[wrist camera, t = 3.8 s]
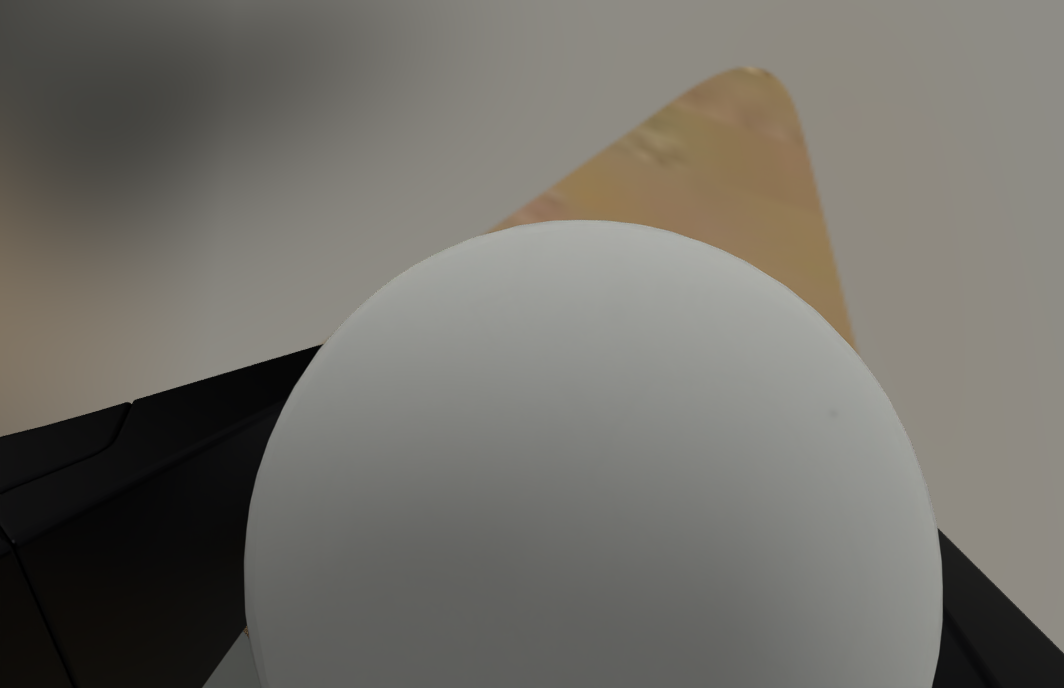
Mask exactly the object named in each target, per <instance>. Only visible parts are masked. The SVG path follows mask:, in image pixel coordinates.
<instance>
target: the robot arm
mask: <svg viewBox="0 0 1064 688" xmlns="http://www.w3.org/2000/svg"><path fill="white" fill-rule="evenodd" d="M323 345H324V344H322V345H318V346H315V347H311V348H308V349H305V350H301V351H298V352H295V353H292V354H288V355H284V356H281V357H278V358H274V359H271V360H268V361H264V362H261V363H257V364H254V365H251V366H247V367H244V368H241V369H237V370H234V371H231V372H227V373H224V374H220V375H217V376H214V377H210V378H207V379H204V380H200V381H197V382H193V383H190V384H187V385H183V386H180V387H177V388H173V389H170V390H166V391H163V392H160V393H156V394H153V395H150V396H146V397H143V398H139V399H136V400H134V401H133V403H132V404H131V403H129V402H125V403H122V404H119V405H116V406H112V407H109V408H106V409H102V410H99V411H96V412H92V413H89V414H85V415H81V416H78V417H74V418H71V419H67V420H64V421H60V422H57V423H53V424H49V425H46V426H42V427H38V428H34V429H30V430H26V431H22V432H18V433H14V434H10V435H6V436H2V437H0V688H203V686H204V685H205V683H206V682H207V681H208V679H209V678H210V676H211V675H212V674H213V672H214V671H215V669H216V668H217V667H218V665H219V664H220V662H221V661H222V660H223V658H224V657H225V655H226V654H227V653H228V651H229V650H230V649H231V647H232V646H233V644H234V643H235V642H236V640H237V639H238V637H239V636H240V635H241V633H242V632H243V630H244V629H245V628H246V626H247V620H246V614H245V588H244V555H245V543H246V531H247V523H248V515H249V508H250V502H251V498H252V493H253V489H254V485H255V481H256V476H257V473H258V470H259V467H260V464H261V461H262V458H263V455H264V452H265V449H266V446H267V443H268V440H269V438H270V436H271V434H272V432H273V429H274V427H275V425H276V423H277V420H278V418H279V416H280V414H281V412H282V409H283V407H284V406H285V404H286V402H287V400H288V398H289V396H290V394H291V392H292V390H293V388H294V387H295V385H296V384H297V382H298V381H299V379H300V378H301V376H302V375H303V373H304V372H305V370H306V369H307V367H308V365H309V364H310V362H311V361H312V359H313V358H314V356H315V355H316V353H317V352H318V350H319V349H320V348H321V347H322V346H323ZM937 529H938V528H937ZM938 537H939V545H940V553H941V561H942V583H943V622H942V631H941V640H940V650H939V657H938V661H937V666H936V670H935V675H934V679H933V684H932V688H1064V653H1063V652H1062V651H1061V650H1060V649H1059V648H1058V647H1057V646H1056V645H1055V644H1054V643H1053V642H1052V641H1051V640H1050V639H1049V638H1048V637H1047V636H1046V635H1045V634H1044V633H1043V632H1042V631H1041V630H1040V629H1039V628H1038V627H1037V626H1036V625H1035V624H1034V623H1032V621H1031V620H1030V619H1029V618H1028V617H1027V616H1026V615H1025V614H1024V613H1022V611H1021V610H1020V609H1019V608H1018V607H1017V606H1016V605H1015V604H1014V603H1013V602H1012V601H1011V600H1010V599H1008V597H1007V596H1006V595H1005V594H1004V593H1003V592H1002V591H1001V590H1000V589H999V588H998V587H996V586H995V584H994V583H992V582H991V580H989V579H988V578H987V577H986V575H985V574H983V573H982V572H981V570H980V569H978V568H977V567H976V566H975V565H974V564H973V563H972V562H971V561H970V560H969V559H968V558H967V557H966V556H965V555H964V554H963V553H962V552H961V551H960V550H959V549H958V548H957V547H956V546H955V545H954V544H953V543H952V542H951V541H950V540H949V539H948V538H947V537H946V536H945V535H944V534H943V533H942V532H941V531H940V530H939V529H938Z"/></svg>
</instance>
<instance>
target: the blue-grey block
mask: <svg viewBox="0 0 1064 688" xmlns="http://www.w3.org/2000/svg"><path fill="white" fill-rule="evenodd" d="M203 688H261V686H260V682H259V679H258V675H257V672H256V668H255V665H254V661H253V657H252V654H251V647H250V641H249V638H248V637H247V635H246V634H245V633H244V631H243V632H242V633H241V635H240V636H239V637H238V639H237V640H236V642H235V643H234V644H233V646H232V647H231V649H230V650H229V651H228V653H227V654H226V655H225V657H224V658H223V660H222V661H221V662H220V664H219V665H218V667H217V668H216V669H215V671H214V672H213V674H212V675H211V676H210V678H209V679H208V681H207V682H206V683H205V685H204V686H203Z"/></svg>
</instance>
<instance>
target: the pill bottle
mask: <svg viewBox="0 0 1064 688" xmlns="http://www.w3.org/2000/svg"><path fill="white" fill-rule="evenodd" d="M244 588H245V614H246V620H247V627H248V634H249V641H250V647H251V654H252V657H253V661H254V665H255V668H256V672H257V675H258V679H259V682H260V686H261V688H932V684H933V679H934V675H935V670H936V666H937V661H938V657H939V650H940V640H941V631H942V622H943V583H942V561H941V553H940V545H939V537H938V529H937V523H936V519H935V515H934V511H933V506H932V503H931V498H930V494H929V490H928V486H927V484H926V481H925V478H924V476H923V473H922V470H921V467H920V465H919V462H918V459H917V457H916V454H915V451H914V448H913V446H912V443H911V441H910V439H909V437H908V435H907V433H906V431H905V429H904V427H903V425H902V423H901V421H900V420H899V418H898V416H897V414H896V412H895V410H894V408H893V406H892V404H891V402H890V400H889V398H888V397H887V395H886V394H885V392H884V390H883V389H882V387H881V386H880V384H879V382H878V381H877V379H876V378H875V377H874V375H873V374H872V373H871V371H870V370H869V369H868V367H867V366H866V365H865V363H864V362H863V361H862V359H861V358H860V357H859V355H858V354H857V353H856V352H855V351H854V349H853V348H852V347H851V346H850V345H849V344H848V343H847V342H846V341H845V340H844V339H843V338H842V337H841V336H840V335H839V334H838V332H837V331H836V330H835V329H834V328H833V327H832V326H831V325H830V324H829V323H828V322H827V321H826V320H825V319H824V318H823V317H822V316H821V315H820V314H819V313H818V312H817V311H816V310H815V309H813V308H812V307H811V306H810V305H809V304H807V303H806V302H805V301H804V300H802V299H801V298H800V297H799V296H797V295H796V294H795V293H794V292H793V291H791V290H790V289H789V288H788V287H786V286H785V285H783V284H782V283H780V282H779V281H777V280H775V279H774V278H772V277H770V276H769V275H767V274H765V273H764V272H762V271H760V270H759V269H757V268H756V267H754V266H752V265H751V264H749V263H748V262H746V261H744V260H742V259H740V258H737V257H735V256H733V255H732V254H730V253H728V252H726V251H724V250H721V249H719V248H716V247H714V246H711V245H709V244H706V243H704V242H700V241H697V240H694V239H691V238H688V237H685V236H682V235H680V234H677V233H674V232H671V231H667V230H663V229H658V228H654V227H649V226H644V225H639V224H632V223H623V222H614V221H605V220H563V221H547V222H541V223H534V224H527V225H520V226H515V227H511V228H508V229H504V230H501V231H497V232H493V233H489V234H485V235H481V236H477V237H473V238H471V239H469V240H466V241H464V242H462V243H459V244H457V245H454V246H452V247H449V248H447V249H445V250H443V251H440V252H438V253H436V254H434V255H432V256H430V257H429V258H427V259H425V260H423V261H422V262H419V263H417V264H416V265H414V266H412V267H411V268H409V269H408V270H406V271H404V272H403V273H401V274H400V275H398V276H397V277H395V278H394V279H392V280H391V281H389V282H388V283H387V284H385V285H384V286H383V287H382V288H381V289H379V290H378V291H377V292H376V293H375V294H373V295H372V296H371V297H370V298H369V299H368V300H367V301H365V302H364V303H363V304H362V305H361V306H360V307H358V309H356V310H355V311H354V312H353V313H352V314H351V315H350V316H349V317H348V318H347V319H346V320H345V321H344V322H343V323H342V324H341V325H340V326H339V327H338V328H337V329H336V331H335V332H334V333H333V334H332V335H331V336H330V338H329V339H328V340H327V341H326V342H325V343H324V345H323V346H322V347H321V348H320V349H319V350H318V352H317V353H316V355H315V356H314V358H313V359H312V361H311V362H310V364H309V365H308V367H307V369H306V370H305V372H304V373H303V375H302V376H301V378H300V379H299V381H298V382H297V384H296V385H295V387H294V388H293V390H292V392H291V394H290V396H289V398H288V400H287V402H286V404H285V406H284V407H283V409H282V412H281V414H280V416H279V418H278V420H277V423H276V425H275V427H274V429H273V432H272V434H271V436H270V438H269V440H268V443H267V446H266V449H265V452H264V455H263V458H262V461H261V464H260V467H259V470H258V473H257V476H256V481H255V485H254V489H253V493H252V498H251V502H250V508H249V515H248V523H247V531H246V543H245V555H244Z"/></svg>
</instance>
